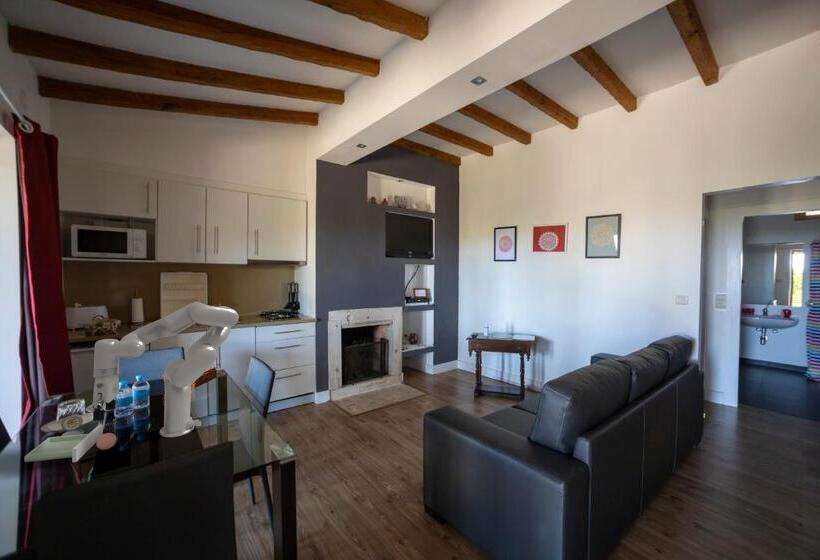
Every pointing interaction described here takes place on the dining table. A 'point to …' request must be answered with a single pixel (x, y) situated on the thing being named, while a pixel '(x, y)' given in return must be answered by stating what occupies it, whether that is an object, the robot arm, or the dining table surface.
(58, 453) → the tray
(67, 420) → the pocket watch
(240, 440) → the dining table surface
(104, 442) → the ball
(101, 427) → the wall
